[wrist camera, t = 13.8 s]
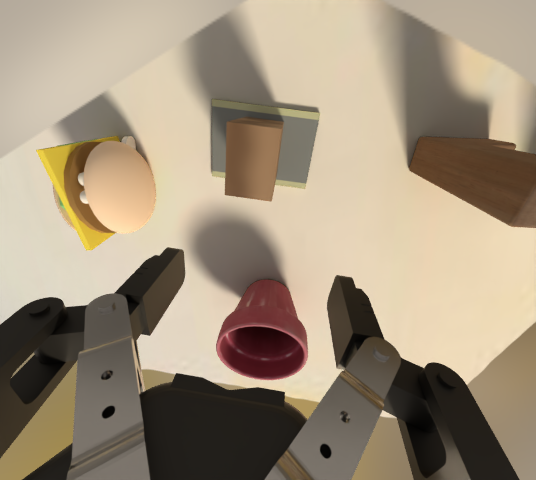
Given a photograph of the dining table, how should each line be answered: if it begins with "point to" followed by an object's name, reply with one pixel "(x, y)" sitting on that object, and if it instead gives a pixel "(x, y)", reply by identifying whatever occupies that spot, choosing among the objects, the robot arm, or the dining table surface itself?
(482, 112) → the dining table surface
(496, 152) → the wooden block
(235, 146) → the walnut block
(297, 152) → the mat
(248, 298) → the plant pot
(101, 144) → the hamburger
